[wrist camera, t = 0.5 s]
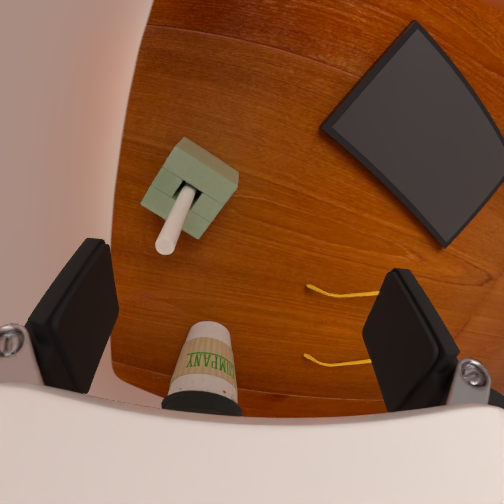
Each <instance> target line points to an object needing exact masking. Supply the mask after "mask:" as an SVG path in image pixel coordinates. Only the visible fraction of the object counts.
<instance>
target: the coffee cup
mask: <svg viewBox="0 0 504 504" xmlns="http://www.w3.org/2000/svg"><path fill="white" fill-rule="evenodd" d="M237 396H238V392H237V383H236V375H235V367H234V358H233V352H232V349H231V339H230V333H229V331H228V330H227V328H225V327H224V326H223V325H221V324H219V323H216V322H212V321H202V322H198V323H196V324H194V325H193V326H192V327H191V328H190V330H189V333H188V336H187V339H186V342H185V344H184V345H183V347H182V350H181V353H180V356H179V359H178V361H177V364H176V367H175V370H174V373H173V376H172V379H171V382H170V385H169V393H168V396H166V397H165V398H164V399H163V401H162V403H161V404H162V409H167V410H175V411H183V412H191V413H201V414H212V415H224V416H239V417H241V416H242V410H241V408H240V406H239V405H238V403H237Z"/></svg>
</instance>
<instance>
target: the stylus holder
mask: <svg viewBox="0 0 504 504" xmlns="http://www.w3.org/2000/svg"><path fill="white" fill-rule="evenodd" d="M183 180H184V181H186V182H187V183H189V184H191V185H192V186H194V187H195V188H197V189H198V190H199V191H198V192H197V193H195V196H194V199H193V201H192V204H191V206H190V209H189V211H188V214H187V217H186V219H185V222H184V224H183V227H182V230H183V231H185V232H186V233H188V234H190V235H191V236H193V237H194V238H196V239H198V240H199V238H200V237H201V236H202V234H203V233H204V232H205V230H206V229H207V228H208V226H209V225H210V224H211V222H212V221H213V220H214V218H215V217H216V216H217V214H218V213H219V212H220V210H221V209H222V208H223V206H224V205H225V204H226V202H227V201H228V200H229V198H230V197H231V196H232V194H233V193H234V192H235V190H236V189H237V188H238V181H239V172H238V171H236V170H235V169H233V168H232V167H230V166H229V165H227V164H226V163H224V162H223V161H221V160H220V159H218V158H217V157H215V156H214V155H212V154H211V153H209V152H208V151H206V150H205V149H203V148H202V147H200V146H198V145H197V144H195V143H194V142H192V141H191V140H189V139H188V138H186V137H183V138H182V139H181V140H180V141H179V142H178V144H177V145H176V146H175V147H174V149H173V150H172V152H171V153H170V155H169V156H168V158H167V159H166V161H165V163H164V164H163V166H162V168H161V169H160V171H159V172H158V174H157V176H156V177H155V179H154V181H153V182H152V184H151V186H150V187H149V189H148V191H147V192H146V194H145V196H144V198H143V199H142V201H141V203H140V204H141V205H142V206H144V207H145V208H147V209H149V210H150V211H152V212H154V213H155V214H157V215H158V216H160V217H162V218H163V219H165V220H167V218H168V216H169V214H170V212H171V210H172V208H173V206H174V204H175V202H176V200H177V198H178V196H179V194H180V192H181V190H182V188H183V186H184V185H183V184H182V181H183Z"/></svg>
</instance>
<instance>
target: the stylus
mask: <svg viewBox="0 0 504 504" xmlns="http://www.w3.org/2000/svg"><path fill="white" fill-rule="evenodd" d="M196 191H197V188H195V187H194V186H192V185H191V184H189V183H187V182H185V184H184V186H183V188H182V190H181V192H180V194H179V196H178V198H177V200H176V202H175V204H174V206H173V208H172V210H171V212H170V214H169V216H168V218H167V220H166V222H165V224H164V226H163V228H162V230H161V232H160V234H159V236H158V239H157V241H156V243H155V247H156V250H157V251H158V252H159V253H160V254H163V255H169V254H171V253H172V252H173V251H174V249H175V246H176V243H177V241H178V238H179V235H180V233H181V230H182V227H183V224H184V222H185V219H186V217H187V214H188V211H189V209H190V206H191V204H192V201H193V199H194V196H195V193H196Z"/></svg>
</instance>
